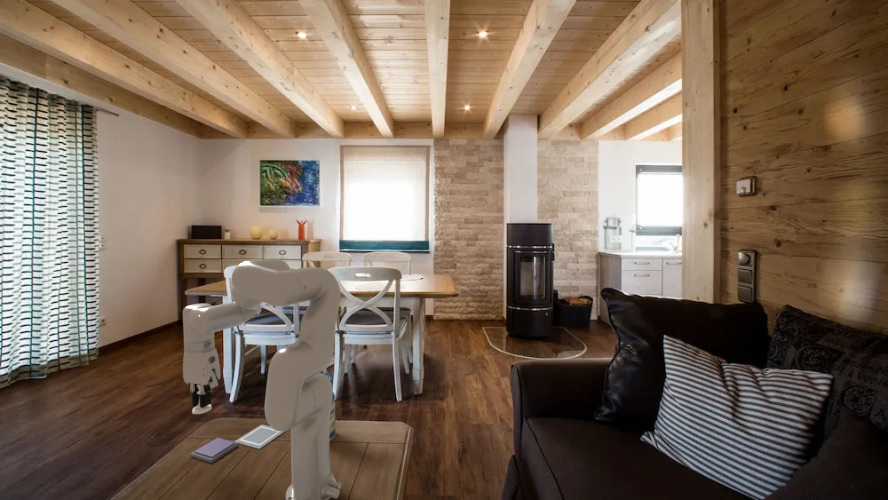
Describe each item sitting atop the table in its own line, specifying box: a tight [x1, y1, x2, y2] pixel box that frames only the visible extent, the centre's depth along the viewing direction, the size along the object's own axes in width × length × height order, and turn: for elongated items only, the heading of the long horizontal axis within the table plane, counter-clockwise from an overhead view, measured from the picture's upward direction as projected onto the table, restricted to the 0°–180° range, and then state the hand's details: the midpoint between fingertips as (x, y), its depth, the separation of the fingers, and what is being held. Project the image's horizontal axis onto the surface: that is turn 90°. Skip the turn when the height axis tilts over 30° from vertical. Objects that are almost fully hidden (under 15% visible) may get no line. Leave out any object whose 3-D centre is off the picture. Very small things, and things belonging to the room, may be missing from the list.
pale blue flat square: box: [233, 424, 286, 450], centre depth 119 cm, size 11×11×1 cm
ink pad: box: [189, 437, 239, 464], centre depth 111 cm, size 9×9×1 cm
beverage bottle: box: [326, 375, 336, 441], centre depth 118 cm, size 8×8×20 cm
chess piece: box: [191, 384, 213, 415], centre depth 107 cm, size 5×5×10 cm
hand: (201, 404), depth 107 cm, fingers closed on chess piece
